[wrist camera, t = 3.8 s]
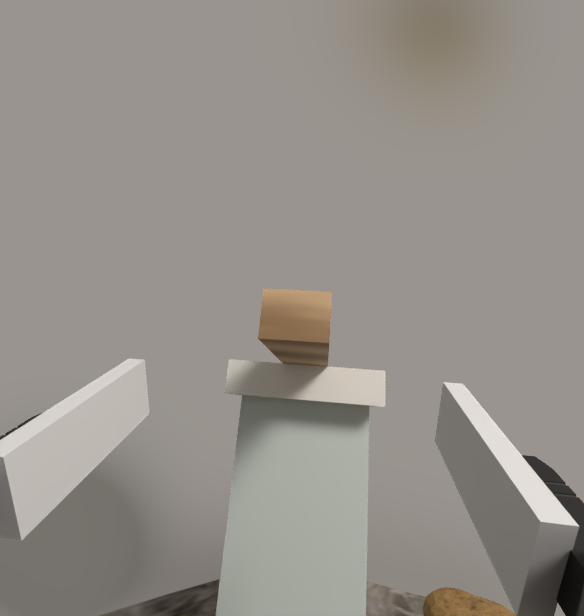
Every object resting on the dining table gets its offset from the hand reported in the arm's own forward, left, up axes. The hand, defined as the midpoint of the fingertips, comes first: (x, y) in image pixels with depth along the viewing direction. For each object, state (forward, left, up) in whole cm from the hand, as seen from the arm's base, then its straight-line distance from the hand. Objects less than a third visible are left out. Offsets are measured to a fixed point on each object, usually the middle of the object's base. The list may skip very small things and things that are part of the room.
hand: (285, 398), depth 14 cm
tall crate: (-5, +24, -27) cm, 36 cm away
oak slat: (-3, +18, +3) cm, 18 cm away
